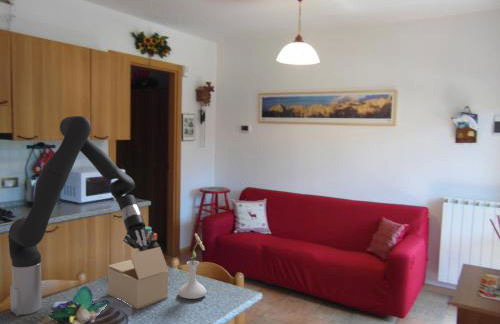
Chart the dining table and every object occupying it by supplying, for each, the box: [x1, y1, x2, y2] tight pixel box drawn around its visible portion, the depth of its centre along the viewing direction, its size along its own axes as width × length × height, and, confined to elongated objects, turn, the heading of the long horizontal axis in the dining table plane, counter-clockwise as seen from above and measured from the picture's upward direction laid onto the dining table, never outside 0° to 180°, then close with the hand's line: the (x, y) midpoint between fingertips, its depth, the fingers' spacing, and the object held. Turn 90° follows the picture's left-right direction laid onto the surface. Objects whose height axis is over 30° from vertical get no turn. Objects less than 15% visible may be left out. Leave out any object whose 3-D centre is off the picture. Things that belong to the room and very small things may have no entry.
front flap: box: [129, 246, 169, 280], centre depth 154 cm, size 14×10×1 cm
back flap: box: [107, 259, 135, 273], centre depth 163 cm, size 14×10×1 cm
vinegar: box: [146, 232, 160, 250], centre depth 180 cm, size 7×7×20 cm
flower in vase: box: [177, 233, 207, 300], centre depth 162 cm, size 13×11×25 cm
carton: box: [107, 267, 169, 311], centre depth 160 cm, size 14×20×11 cm
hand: (145, 255), depth 156 cm, fingers closed
